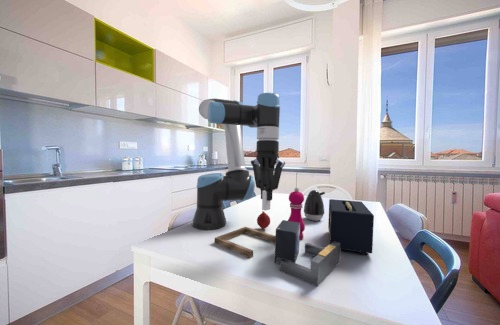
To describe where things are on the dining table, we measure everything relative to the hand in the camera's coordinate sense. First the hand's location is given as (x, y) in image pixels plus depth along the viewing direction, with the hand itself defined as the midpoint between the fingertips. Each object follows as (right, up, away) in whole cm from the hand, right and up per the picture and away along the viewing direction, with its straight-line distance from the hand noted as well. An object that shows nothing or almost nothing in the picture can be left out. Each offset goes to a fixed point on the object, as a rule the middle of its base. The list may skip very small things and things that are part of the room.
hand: (266, 209), depth 75 cm
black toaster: (+31, -15, +8) cm, 35 cm away
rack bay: (+13, -15, -10) cm, 22 cm away
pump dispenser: (+27, -13, +38) cm, 48 cm away
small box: (+7, -15, -5) cm, 17 cm away
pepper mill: (+12, -14, +12) cm, 22 cm away
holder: (-7, -14, +6) cm, 16 cm away
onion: (0, -13, +21) cm, 25 cm away
